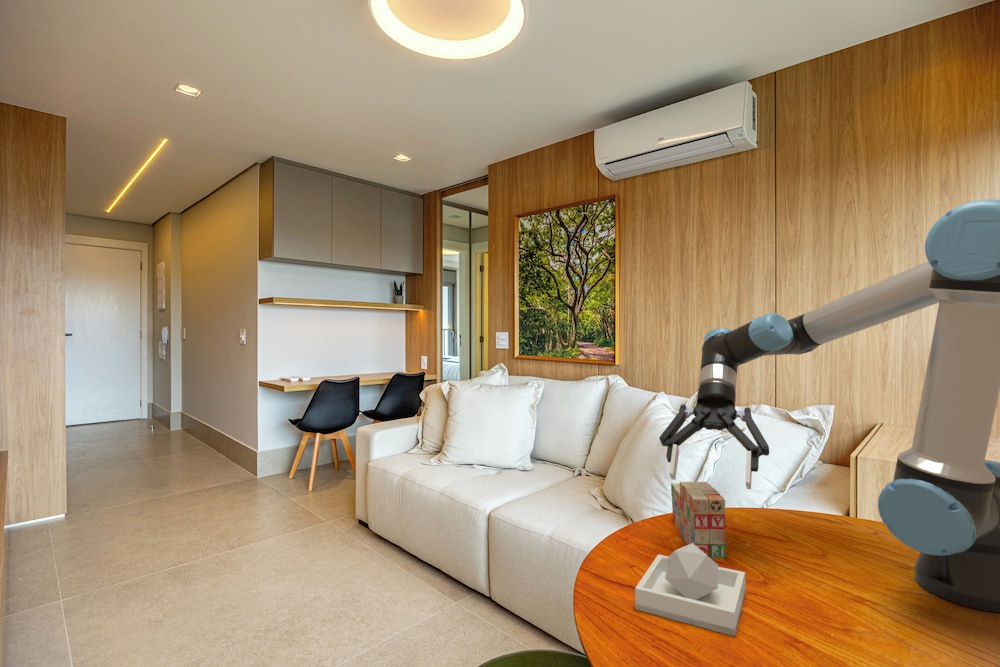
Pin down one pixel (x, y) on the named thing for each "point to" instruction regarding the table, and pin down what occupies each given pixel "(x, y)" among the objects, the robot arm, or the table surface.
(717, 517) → the stack of blocks
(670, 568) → the die
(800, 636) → the table surface
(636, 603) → the tray
